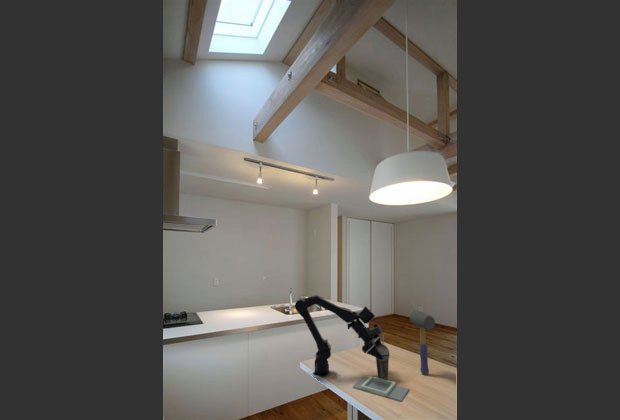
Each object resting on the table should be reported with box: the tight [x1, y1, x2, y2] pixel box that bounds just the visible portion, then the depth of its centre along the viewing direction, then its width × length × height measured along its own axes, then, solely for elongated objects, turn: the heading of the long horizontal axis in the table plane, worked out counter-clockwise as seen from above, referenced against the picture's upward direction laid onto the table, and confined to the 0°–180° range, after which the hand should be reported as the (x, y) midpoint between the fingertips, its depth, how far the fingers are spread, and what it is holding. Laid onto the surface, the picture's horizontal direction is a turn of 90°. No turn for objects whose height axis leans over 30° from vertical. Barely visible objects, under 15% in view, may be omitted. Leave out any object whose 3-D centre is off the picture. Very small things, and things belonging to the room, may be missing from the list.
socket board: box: [352, 375, 410, 403], centre depth 130 cm, size 22×12×2 cm, turn 56°
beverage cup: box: [375, 334, 390, 380], centre depth 142 cm, size 7×7×20 cm
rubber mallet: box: [409, 310, 436, 376], centre depth 147 cm, size 12×8×30 cm, turn 16°
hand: (384, 355), depth 141 cm, fingers open, 9 cm apart
